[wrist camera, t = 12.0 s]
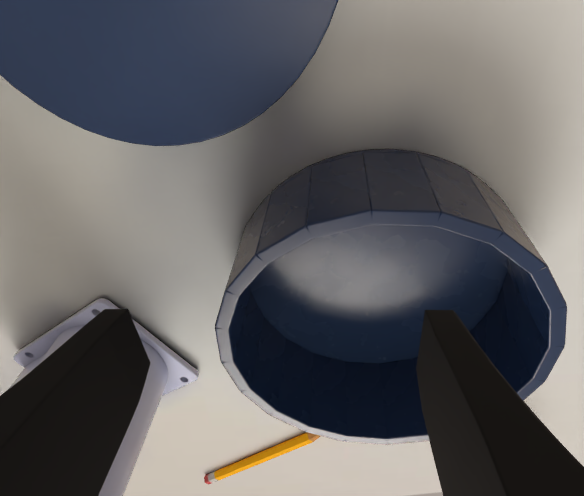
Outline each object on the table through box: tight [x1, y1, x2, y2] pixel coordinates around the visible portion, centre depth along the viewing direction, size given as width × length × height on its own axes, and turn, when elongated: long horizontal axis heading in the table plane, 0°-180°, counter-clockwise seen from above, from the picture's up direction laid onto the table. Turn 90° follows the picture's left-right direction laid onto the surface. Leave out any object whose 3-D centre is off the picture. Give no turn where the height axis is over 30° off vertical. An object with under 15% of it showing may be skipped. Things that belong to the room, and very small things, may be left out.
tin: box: [215, 149, 567, 445], centre depth 19 cm, size 14×14×5 cm
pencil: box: [204, 432, 320, 484], centre depth 32 cm, size 1×13×1 cm, turn 133°
